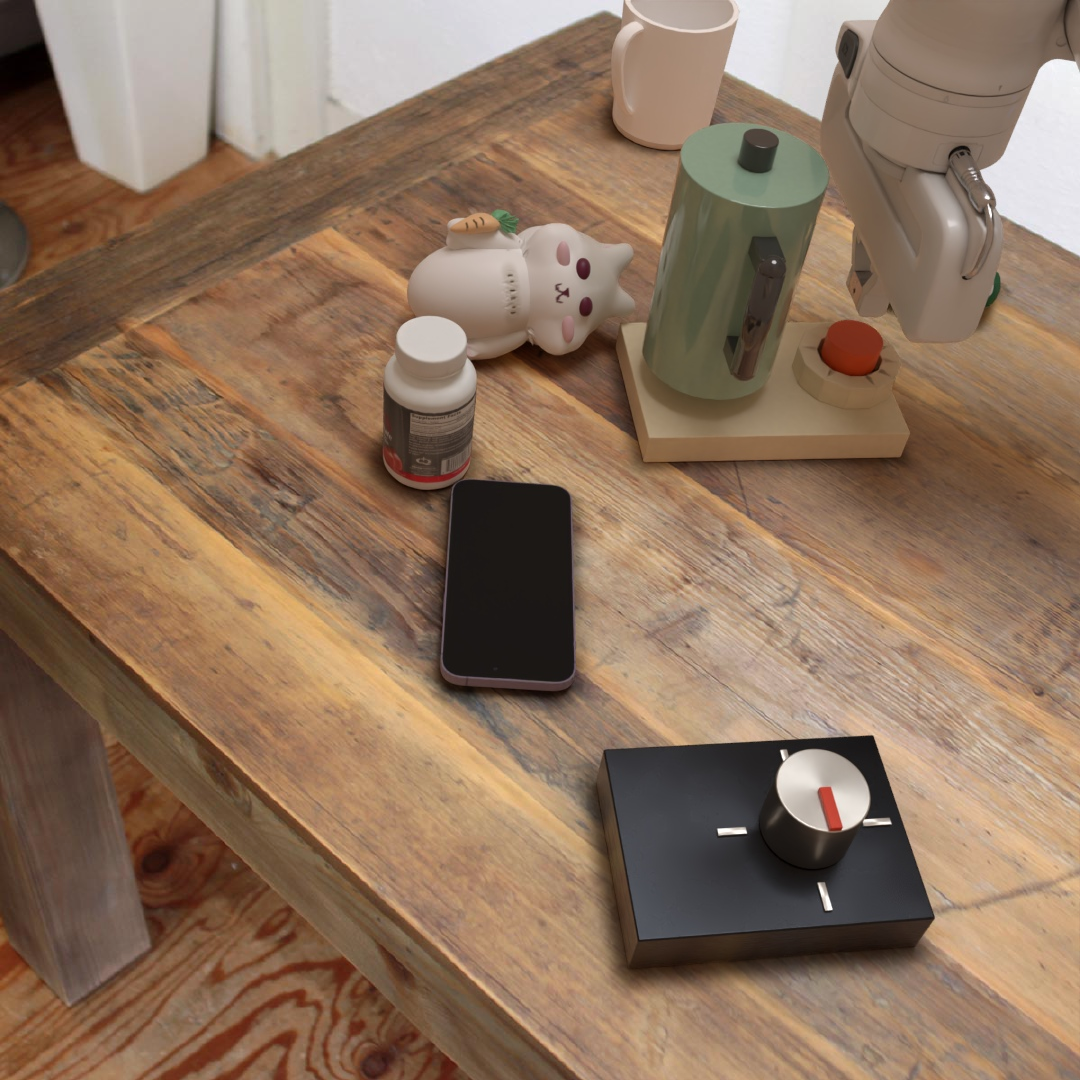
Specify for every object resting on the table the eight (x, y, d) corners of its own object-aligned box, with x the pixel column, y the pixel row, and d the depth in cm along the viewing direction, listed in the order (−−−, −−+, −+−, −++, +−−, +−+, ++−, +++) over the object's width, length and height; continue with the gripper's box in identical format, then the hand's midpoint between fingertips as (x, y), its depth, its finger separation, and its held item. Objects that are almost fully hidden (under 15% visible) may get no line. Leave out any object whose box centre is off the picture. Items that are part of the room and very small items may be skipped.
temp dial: (750, 789, 65) (767, 746, 62) (836, 785, 65) (858, 742, 63) (770, 872, 62) (790, 831, 59) (861, 866, 62) (884, 826, 60)
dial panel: (857, 765, 70) (874, 732, 68) (916, 946, 63) (937, 916, 61) (595, 780, 68) (603, 746, 65) (628, 969, 61) (638, 939, 59)
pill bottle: (375, 435, 83) (376, 310, 75) (460, 426, 84) (469, 303, 77) (390, 497, 79) (393, 373, 72) (478, 487, 81) (490, 364, 73)
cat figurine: (397, 220, 82) (639, 201, 83) (400, 211, 90) (622, 194, 90) (412, 373, 85) (646, 354, 86) (414, 352, 92) (629, 335, 93)
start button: (866, 340, 88) (874, 319, 87) (882, 376, 86) (890, 355, 84) (814, 340, 87) (821, 319, 86) (829, 377, 85) (836, 356, 84)
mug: (662, 84, 114) (683, -34, 107) (735, 134, 110) (763, 15, 102) (565, 120, 109) (580, -2, 101) (638, 173, 105) (659, 50, 97)
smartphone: (572, 485, 80) (577, 684, 70) (570, 498, 81) (575, 697, 71) (451, 476, 80) (438, 676, 70) (450, 490, 81) (437, 689, 70)
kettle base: (856, 345, 93) (873, 300, 90) (904, 457, 86) (923, 412, 83) (615, 347, 91) (623, 300, 88) (643, 462, 83) (653, 416, 80)
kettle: (748, 291, 90) (804, 77, 78) (798, 432, 81) (871, 214, 69) (625, 291, 88) (665, 73, 77) (663, 434, 79) (714, 213, 68)
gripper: (1060, 216, 67) (965, 417, 77) (933, 13, 80) (866, 208, 90) (942, 214, 66) (861, 418, 76) (832, 8, 79) (777, 206, 89)
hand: (863, 302), depth 83 cm, fingers closed
